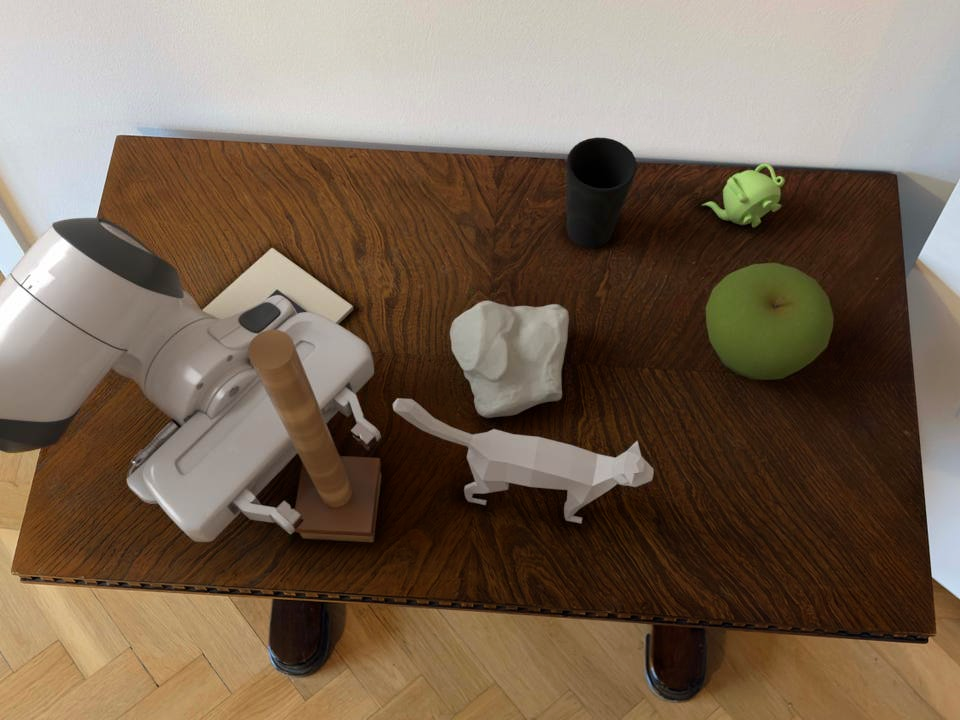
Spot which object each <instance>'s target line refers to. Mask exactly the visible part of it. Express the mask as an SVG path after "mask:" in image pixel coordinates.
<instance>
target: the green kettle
mask: <svg viewBox="0 0 960 720" xmlns="http://www.w3.org/2000/svg"><path fill="white" fill-rule="evenodd" d="M765 168H766V169H768V170H769V172H770V176H771V177H769V176H768V175H767V174H764V173H761V170H762V169H765ZM778 180H780V181H779V182H778ZM785 183H786V182H785V178H784V177H783V176H781V175H776V172H775V169H774V167H773V166H772V164H769V163H762V164H759V165H758V166H756V168H755V169H754V170H753V169H747V170H744V171H741V172H737V173H735V174H734V175H732V176H731V177H729V178H728V179H727V181H726V184H725V185H724V188H723V189H722V196H723V197H722V198H723V199H722V200H723V207H724V209H722V208H721V207H720V206H719V205H718V204H717V203H716V202H715V201H707V202H705V203H703V204H701V207H709V208H710V209H712V210H713V212H714V213H715V215H716V216H717V217H718V218H720V219H721V220H723V221H727V222H729V221H731V222H732V223H734V224H737V225H740V226H746V225H748V224H751V227H752V228H756V227H757V226H759V225H760V224H761V223H762V221H761V218H763V217H764V216H765V215H766V214H768V213H769V212H770V211H771V212H773V213H774V212H776V211H778V210H780V209H781V208H782V206H783V205H782V204H780V203H779V202H780V200H781V191H782V190H781V187H782V186H783V185H784V184H785Z"/></svg>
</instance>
